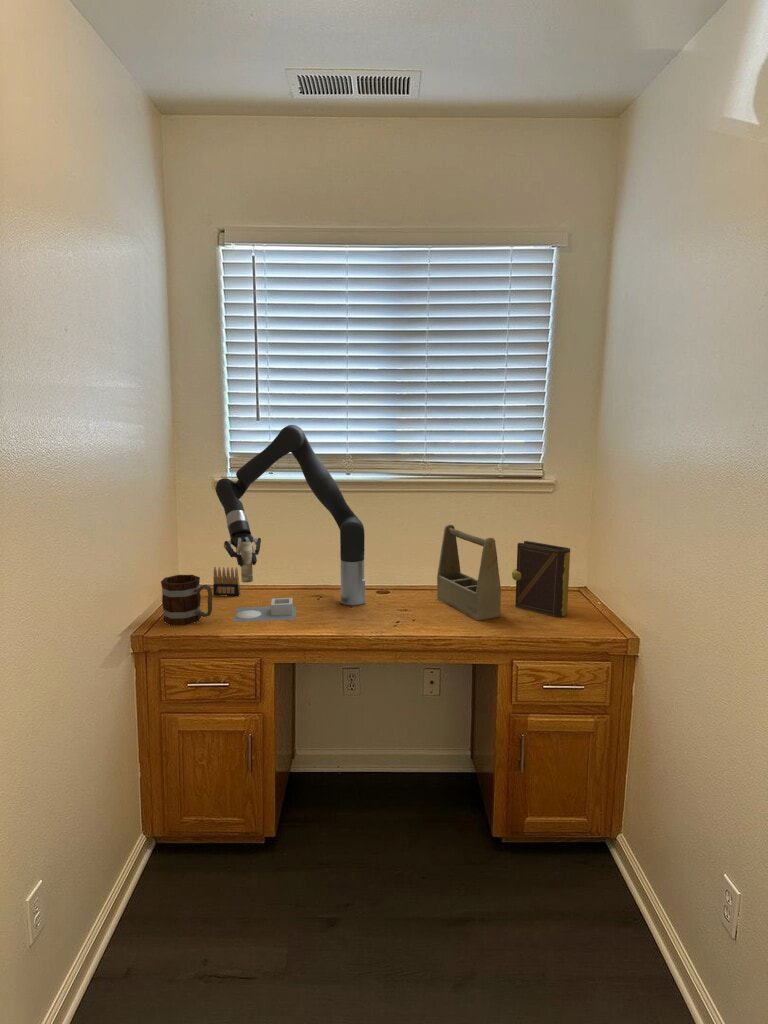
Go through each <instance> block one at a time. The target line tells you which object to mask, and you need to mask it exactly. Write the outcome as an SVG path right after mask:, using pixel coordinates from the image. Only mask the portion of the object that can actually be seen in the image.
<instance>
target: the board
mask: <svg viewBox="0 0 768 1024" xmlns="http://www.w3.org/2000/svg"><path fill="white" fill-rule="evenodd" d="M296 612H297V605H293V597H281V598H280V597H279V598H271V602H270V606H269V605H268V606H266V605H265V606H248V607H247V606H243V607H241V606H240V607H236V610H235V613H234V616H233V618H232V619H233V620H232V623H240V622H241V623H242V622H243V623H244V622H265V621H267V622H268V621H289V620H290V621H291V620H292V621H294V620H297V618H296V617H297V616H296V615H297V613H296Z"/></svg>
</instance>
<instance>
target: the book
mask: <svg viewBox="0 0 768 1024" xmlns="http://www.w3.org/2000/svg"><path fill="white" fill-rule="evenodd" d="M516 548H517V551H516V568H514V569H513V570H512V572H511V576H512V577H511V578H512V579H513V580H514V581H515V604H514V607H515V608H518V609H522V610H526V611H529V612H533V613H538V614H542V615H544V616H550V617H554V618H559V619H562V618H565V617H566V616H568V615H567V614H568V605H569V604H568V603H569V583H570V582H569V580H570V563H571V560H570V559H571V548H570V547H566V546H560V545H559V546H558V545H552V544H548V543H542V542H535V541H529V540H524V541H523V542H518V543H517V547H516Z"/></svg>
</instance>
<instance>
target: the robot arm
mask: <svg viewBox="0 0 768 1024" xmlns="http://www.w3.org/2000/svg"><path fill="white" fill-rule="evenodd" d="M290 453H291V455H292V456H293V457H294V458H295V460H296V461H297V462H298V463H297V464H298V465H299V467H300V469H301V472H302V475H303V477H304V479H305V481H306V483H307V485H308V487H309V488H310V490H311V491H312V493H313V495H314V496H315V498H317V500H318V501H319V502H320V503H321V504H322V505H323V507H324V508H325V509H326V510H327V511H328V512H329V513H330V514H331V516H332V517H333V519H334V521H335V523H336V525H337V527H338V529H339V533H340V534H339V535H340V537H339V539H340V541H339V542H340V544H339V545H340V551H339V552H340V555H339V557H340V602H341V604H342V605H346V606H360V605H363V604H366V579H365V527H364V524H363V522H362V521H361V520H360V518H359V517H358V516H357V515H356V514H355V513H354V511H353V510H352V509H351V507H350V506H349V505H348V503H347V501H346V499H345V497H344V495H343V493H342V491H341V489H340V488H339V486H338V485H337V483H336V481H335V480H334V477H333V476H332V475H331V474H330V472H329V470H328V469H327V468H326V466H325V465H324V464H323V462H322V461H321V459H320V458H319V457H318V456H317V454H316V452H315V451H314V449H313V448H312V446H311V443H310V442H309V440H308V438H307V436H306V434H305V432H304V430H303V429H302V428H301V427H300V426H298V425H296V424H288V425H286V426H284V427H283V428H281V430H280V431H279V432H278V434H277V436H276V437H275V438H274V439H273V440H272V441H271V442H270V443H269V444H268V445H267V447H265V448H264V449H263V450H262V451H260V452H259V453H257V454H256V455H255V456H254V457H253V458H251V459H250V460H249V461H247V462H246V463H245V464H244V465H242V466H241V467H240V468H239V469H237V471H236V472H235V475H236V478H237V481H236V482H234V481H233V480H232V479H229V478H227V477H226V478H220V479H218V481H217V482H216V484H215V493H216V496H217V498H218V501H219V502H220V504H221V506H222V507H223V510H224V516H225V518H226V527H227V530H228V534H229V538H230V540H225V541H224V543H223V548H224V550H226V552H227V553H228V555H229V556H230V557H231V558H235V559H236V562H237V565H238V566H239V567H240V568H241V567H242V566H243V561H242V557H241V552H240V543H241V542H252V543H254V545H255V548H254V545H252V566H256V564H257V562H258V559H257V556H258V555H259V554H260V551H261V545H262V544H261V542H262V538H261V537H258V538H254V536H253V535H252V532H251V529H250V525H249V521H248V518H247V515H246V513H245V509H244V505H243V503H242V501H241V500H240V499H241V498H242V497H243V496H244V495H245V493H246V492H247V490H248V489H249V487H250V485H251V484H252V483H254V482H255V481H256V480H258V479H259V478H260V477H261V476H263V474H264V473H265V472H267V471H268V470H269V468H270V467H272V466H273V465H274V464H275V463H276V462H277V461H279V460H280V459H282V458H283V457H284V456H286V455H288V454H290ZM232 546H233V547H232ZM233 548H235V550H234V549H233Z"/></svg>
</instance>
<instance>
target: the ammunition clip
mask: <svg viewBox="0 0 768 1024" xmlns="http://www.w3.org/2000/svg"><path fill="white" fill-rule="evenodd" d="M212 579H213V586H212V587H213V588H212V589H213V590H212V596H213V595H227V596H226V597H235V596H239V595H240V596H241V587H240V577H239V569H238V567H235V569H234V567H231V568H229V566H227V568H225V566H223V567H222V570H221V567H220V566H218V569H217V568H216V566H214V568H213V578H212ZM240 596H239V597H240Z"/></svg>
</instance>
